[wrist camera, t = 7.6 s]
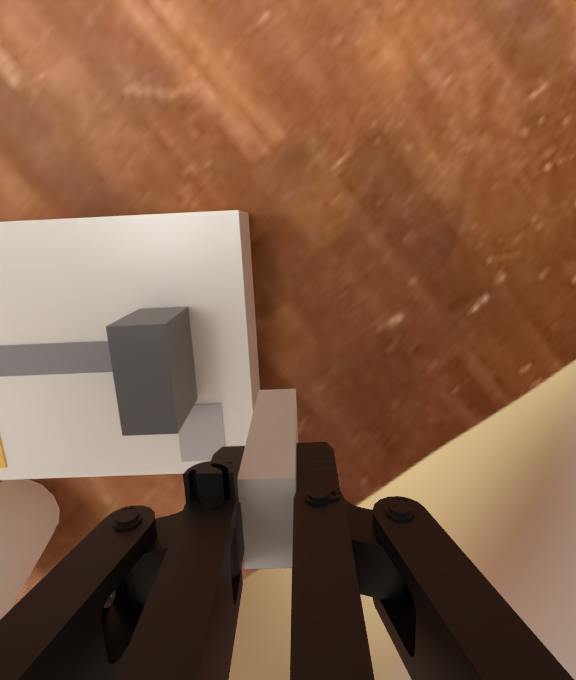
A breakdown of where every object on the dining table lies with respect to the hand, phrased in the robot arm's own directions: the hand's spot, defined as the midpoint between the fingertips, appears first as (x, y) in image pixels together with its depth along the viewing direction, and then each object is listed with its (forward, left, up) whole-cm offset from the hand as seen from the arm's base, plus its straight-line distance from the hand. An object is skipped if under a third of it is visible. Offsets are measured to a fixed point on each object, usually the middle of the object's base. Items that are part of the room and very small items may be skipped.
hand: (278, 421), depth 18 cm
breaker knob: (0, -7, -10) cm, 12 cm away
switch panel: (0, -13, -16) cm, 21 cm away
